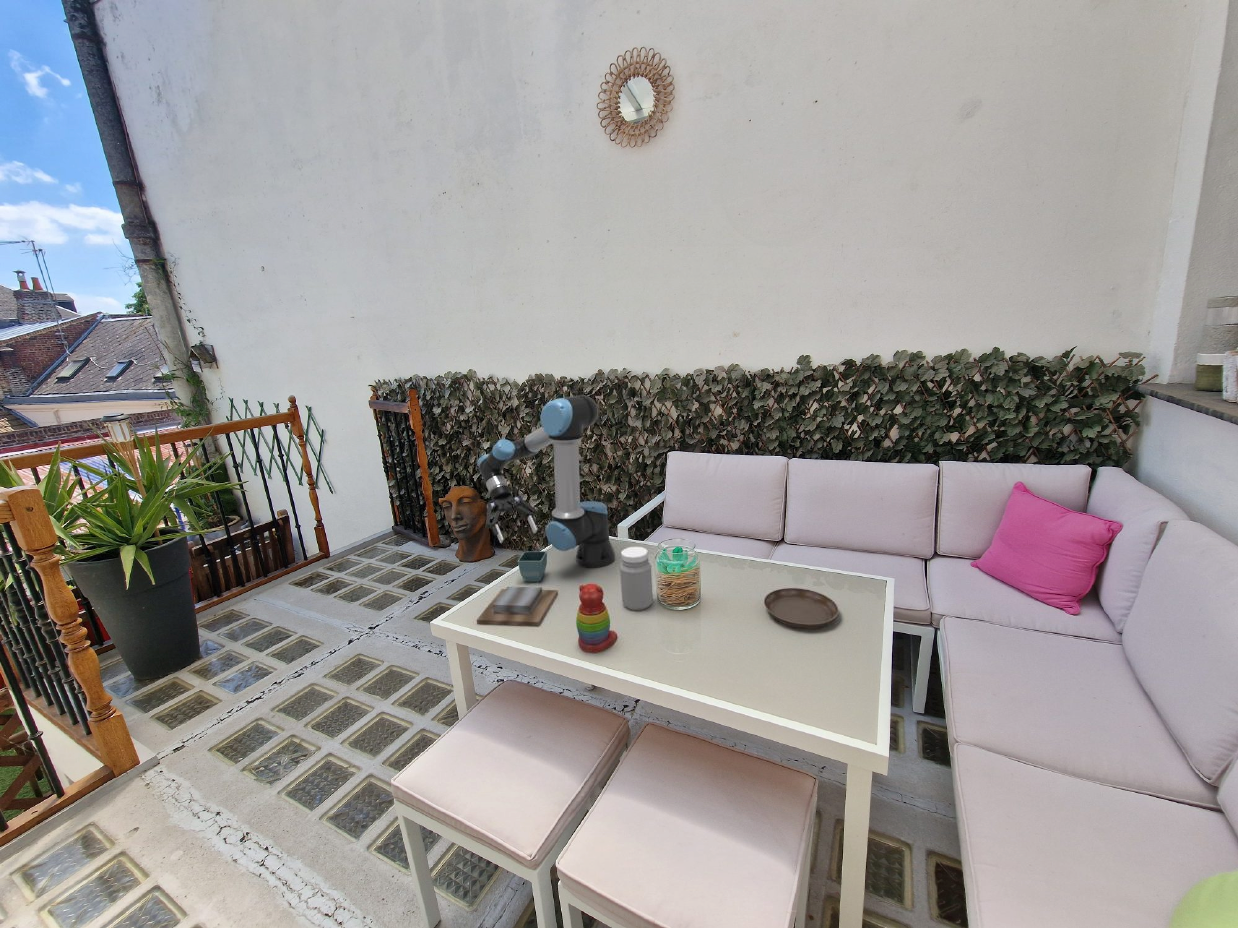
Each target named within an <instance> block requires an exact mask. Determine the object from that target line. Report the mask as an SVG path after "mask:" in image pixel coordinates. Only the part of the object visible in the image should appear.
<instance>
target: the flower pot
mask: <svg viewBox="0 0 1238 928" xmlns="http://www.w3.org/2000/svg"><path fill="white" fill-rule="evenodd" d="M547 560H548V551H543V550H540V551H531V550H530V551H523V552H522V553H521V555H520V557H518V559H517V566H518V569H519V572H520V576H521V577H522V578H523V580H524V581H525V582H527V583H528V582H534V583H535V582H541V580H542V578H543V577H544V574H545V572H546V568H547V564H548V563H547V562H548V561H547Z"/></svg>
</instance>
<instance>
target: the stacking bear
mask: <svg viewBox="0 0 1238 928" xmlns="http://www.w3.org/2000/svg"><path fill="white" fill-rule="evenodd" d="M578 589H579V593H578V594H579V595H578V598H579V600H580V605H579V606H578V609H577V613H576V619H575V620H576V621H575V624H576V625H575V626H576V629H577V634H578V640H577V641H578V646H579V648H580V649H581V650H583V652H588V653H598V652H602V651H604V650H606V649H608V648H610V647H611V646H612V645H614V644H615V642H616V641H617V639H618V634H617V632H616V631H615V630H612V629H611V618H610V617H611V616H610V614H609V611H608V609H607V606H606V604H605V602H603V599H604V595H605V594H604V590H603V588H602V586H600V585H598V584H597V583H587V584H585V585H584V584H580V585H579V586H578Z"/></svg>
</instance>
